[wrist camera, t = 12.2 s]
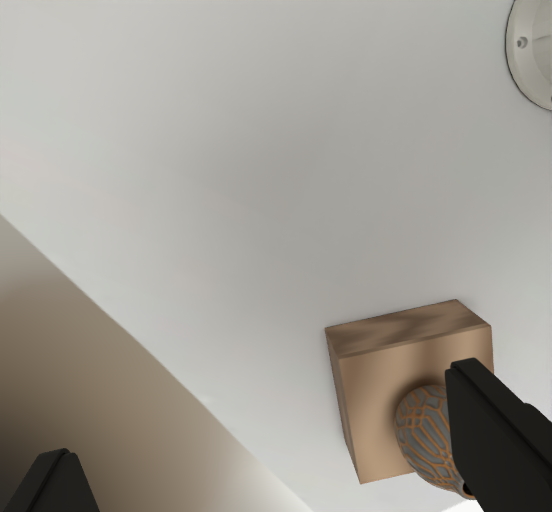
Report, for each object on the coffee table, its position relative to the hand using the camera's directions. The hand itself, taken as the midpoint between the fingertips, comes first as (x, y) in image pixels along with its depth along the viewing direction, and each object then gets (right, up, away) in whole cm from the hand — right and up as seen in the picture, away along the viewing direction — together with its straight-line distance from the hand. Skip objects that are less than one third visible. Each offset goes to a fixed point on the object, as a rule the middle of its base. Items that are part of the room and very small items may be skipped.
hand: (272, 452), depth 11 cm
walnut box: (+12, -7, +33) cm, 35 cm away
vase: (+13, -8, +27) cm, 31 cm away
